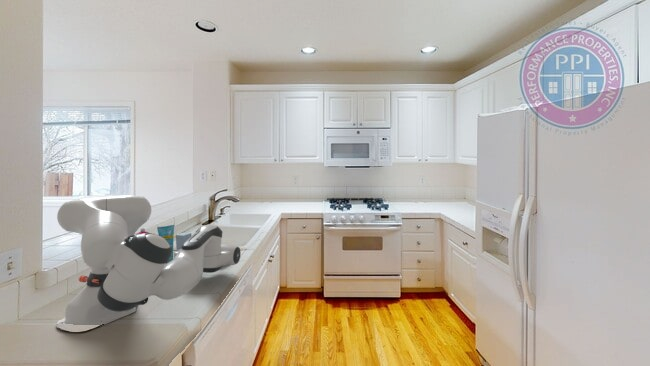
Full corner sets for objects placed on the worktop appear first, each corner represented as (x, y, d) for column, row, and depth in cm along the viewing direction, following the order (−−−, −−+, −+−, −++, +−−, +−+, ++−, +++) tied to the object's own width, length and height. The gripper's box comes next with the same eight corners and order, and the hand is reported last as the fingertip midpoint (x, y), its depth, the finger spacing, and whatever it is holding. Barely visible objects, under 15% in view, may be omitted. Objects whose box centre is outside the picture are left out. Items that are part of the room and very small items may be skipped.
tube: (161, 267, 147) (158, 227, 145) (158, 265, 150) (155, 226, 149) (177, 263, 152) (175, 225, 150) (174, 261, 155) (172, 223, 154)
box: (185, 271, 136) (183, 235, 135) (177, 269, 138) (175, 234, 137) (193, 267, 140) (191, 233, 139) (185, 266, 142) (183, 232, 141)
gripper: (189, 267, 124) (163, 263, 129) (223, 252, 144) (199, 249, 148) (188, 251, 124) (163, 248, 129) (222, 239, 143) (198, 236, 148)
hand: (182, 249), depth 139 cm, fingers closed on box, 4 cm apart
